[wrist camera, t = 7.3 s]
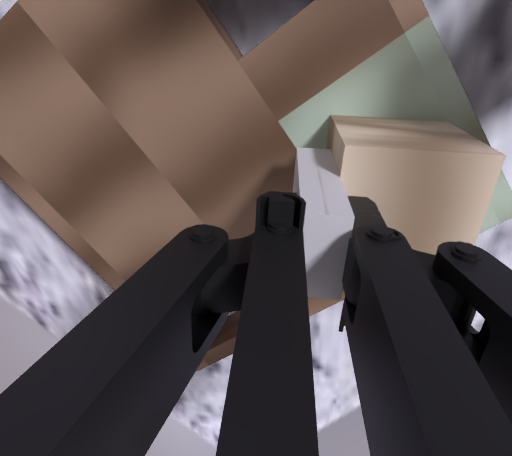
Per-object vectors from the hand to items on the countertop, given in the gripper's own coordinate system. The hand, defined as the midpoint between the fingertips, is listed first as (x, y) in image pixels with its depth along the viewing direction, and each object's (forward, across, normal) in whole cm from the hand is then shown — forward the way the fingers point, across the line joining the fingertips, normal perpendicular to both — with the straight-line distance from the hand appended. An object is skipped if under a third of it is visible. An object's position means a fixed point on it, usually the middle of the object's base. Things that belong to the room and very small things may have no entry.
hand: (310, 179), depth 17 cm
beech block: (+2, +3, 0) cm, 4 cm away
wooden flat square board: (+4, -4, 0) cm, 6 cm away
